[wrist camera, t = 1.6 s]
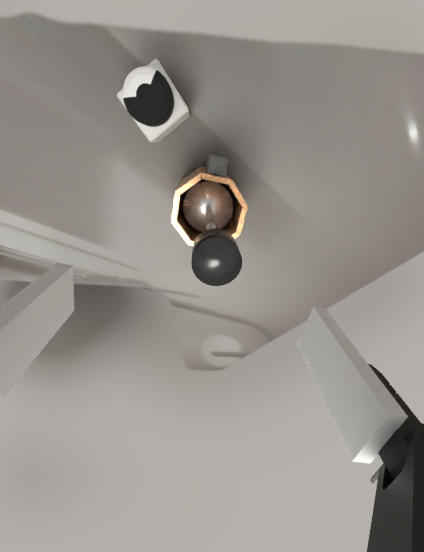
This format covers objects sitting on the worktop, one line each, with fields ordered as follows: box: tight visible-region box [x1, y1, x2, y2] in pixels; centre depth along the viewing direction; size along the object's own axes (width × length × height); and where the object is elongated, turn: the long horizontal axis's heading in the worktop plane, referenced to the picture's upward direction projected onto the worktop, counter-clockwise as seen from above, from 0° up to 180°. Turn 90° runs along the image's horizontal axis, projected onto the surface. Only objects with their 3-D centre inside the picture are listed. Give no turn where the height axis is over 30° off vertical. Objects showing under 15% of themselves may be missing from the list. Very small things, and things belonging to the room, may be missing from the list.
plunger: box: [183, 181, 242, 286], centre depth 30 cm, size 8×8×22 cm
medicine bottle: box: [117, 59, 190, 143], centre depth 36 cm, size 7×7×12 cm
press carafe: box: [171, 153, 248, 246], centre depth 42 cm, size 10×12×14 cm
